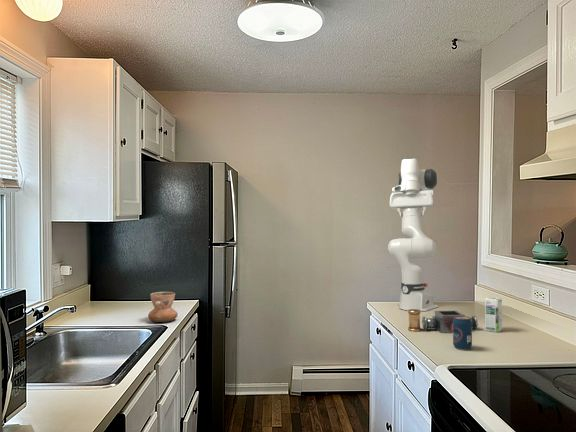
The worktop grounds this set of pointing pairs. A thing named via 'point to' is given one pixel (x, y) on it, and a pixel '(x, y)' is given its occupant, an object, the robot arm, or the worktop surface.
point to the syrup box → (493, 314)
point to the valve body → (445, 321)
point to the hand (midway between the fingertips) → (411, 216)
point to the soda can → (462, 332)
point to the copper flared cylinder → (414, 320)
